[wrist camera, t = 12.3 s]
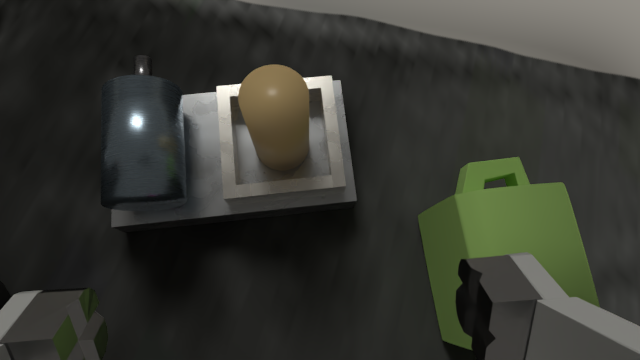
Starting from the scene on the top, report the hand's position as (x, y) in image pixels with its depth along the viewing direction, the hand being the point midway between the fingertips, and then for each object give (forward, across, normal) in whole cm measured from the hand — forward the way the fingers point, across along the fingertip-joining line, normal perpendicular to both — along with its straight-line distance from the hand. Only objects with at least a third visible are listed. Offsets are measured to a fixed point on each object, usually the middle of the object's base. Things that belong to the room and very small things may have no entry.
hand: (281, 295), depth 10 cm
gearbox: (+23, -16, +18) cm, 33 cm away
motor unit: (+31, +5, +8) cm, 32 cm away
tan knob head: (+28, +1, +7) cm, 29 cm away
